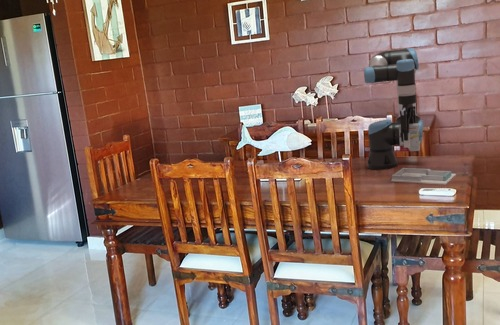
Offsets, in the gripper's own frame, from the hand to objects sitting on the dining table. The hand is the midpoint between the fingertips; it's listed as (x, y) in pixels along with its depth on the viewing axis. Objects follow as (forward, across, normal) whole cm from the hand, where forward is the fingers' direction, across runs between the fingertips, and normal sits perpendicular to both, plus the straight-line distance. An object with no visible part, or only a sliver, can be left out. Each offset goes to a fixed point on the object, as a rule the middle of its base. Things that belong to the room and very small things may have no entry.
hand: (409, 145), depth 230 cm
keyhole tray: (+15, 0, +6) cm, 16 cm away
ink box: (+2, 0, 0) cm, 2 cm away
